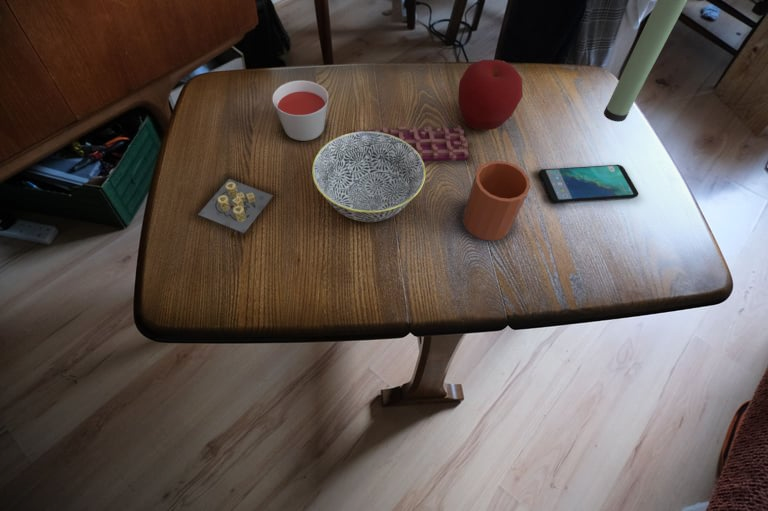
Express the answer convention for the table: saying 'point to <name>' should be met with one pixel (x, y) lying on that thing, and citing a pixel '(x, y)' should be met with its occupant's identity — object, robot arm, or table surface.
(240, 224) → the gold tube cluster
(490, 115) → the apple
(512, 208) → the pen cup
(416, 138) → the chocolate bar
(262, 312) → the table surface
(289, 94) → the candle
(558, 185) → the smartphone
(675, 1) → the green long cylinder
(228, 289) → the table surface
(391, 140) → the bowl
